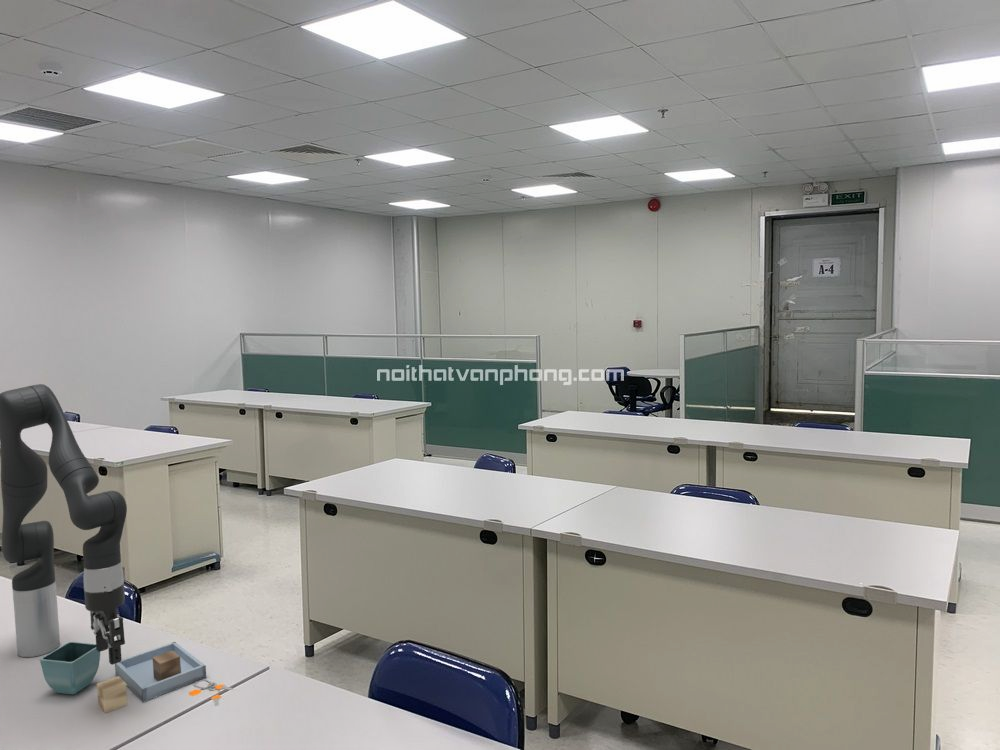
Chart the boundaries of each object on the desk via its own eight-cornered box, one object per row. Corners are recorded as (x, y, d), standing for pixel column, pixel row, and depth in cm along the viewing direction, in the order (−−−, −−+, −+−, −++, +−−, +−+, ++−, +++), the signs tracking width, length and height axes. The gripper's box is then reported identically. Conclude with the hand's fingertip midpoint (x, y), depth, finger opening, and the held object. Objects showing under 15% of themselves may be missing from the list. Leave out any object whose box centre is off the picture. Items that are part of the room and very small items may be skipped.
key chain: (179, 693, 158) (179, 689, 158) (207, 678, 164) (207, 675, 164) (214, 709, 151) (214, 705, 151) (242, 693, 158) (242, 689, 158)
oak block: (98, 705, 153) (96, 683, 153) (120, 697, 156) (118, 676, 156) (105, 713, 150) (103, 691, 150) (127, 704, 153) (126, 682, 153)
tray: (115, 674, 166) (114, 662, 166) (175, 653, 176) (174, 641, 176) (143, 702, 154) (142, 689, 154) (206, 677, 164) (205, 665, 164)
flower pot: (74, 701, 155) (71, 662, 154) (41, 697, 157) (38, 659, 156) (104, 680, 163) (101, 644, 163) (72, 677, 165) (69, 641, 164)
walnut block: (161, 684, 159) (159, 663, 159) (153, 677, 162) (152, 657, 162) (181, 677, 163) (180, 656, 162) (173, 670, 166) (172, 650, 165)
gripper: (74, 581, 153) (79, 652, 154) (95, 598, 143) (100, 674, 144) (111, 571, 158) (116, 640, 160) (134, 587, 148) (139, 660, 150)
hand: (109, 656), depth 152 cm, fingers open, 8 cm apart
